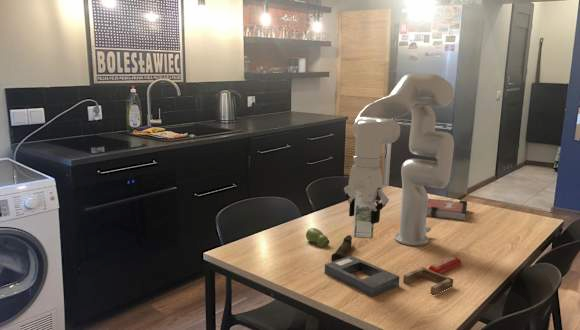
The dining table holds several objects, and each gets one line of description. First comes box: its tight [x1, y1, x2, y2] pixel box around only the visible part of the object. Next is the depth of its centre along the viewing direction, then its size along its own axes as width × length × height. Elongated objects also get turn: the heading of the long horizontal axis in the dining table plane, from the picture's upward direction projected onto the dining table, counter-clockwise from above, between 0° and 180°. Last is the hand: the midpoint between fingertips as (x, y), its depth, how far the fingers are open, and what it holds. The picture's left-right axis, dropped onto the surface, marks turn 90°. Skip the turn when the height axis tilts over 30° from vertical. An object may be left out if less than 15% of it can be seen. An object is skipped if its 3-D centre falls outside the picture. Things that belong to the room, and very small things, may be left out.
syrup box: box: [352, 190, 375, 239], centre depth 142 cm, size 6×6×14 cm
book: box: [426, 198, 468, 222], centre depth 217 cm, size 26×18×5 cm
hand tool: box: [330, 234, 353, 262], centre depth 166 cm, size 19×4×5 cm, turn 157°
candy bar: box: [427, 255, 462, 275], centre depth 156 cm, size 16×4×3 cm, turn 129°
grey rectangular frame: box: [324, 255, 400, 298], centre depth 147 cm, size 12×20×3 cm, turn 40°
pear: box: [305, 227, 330, 248], centre depth 176 cm, size 6×5×10 cm
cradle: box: [402, 266, 454, 296], centre depth 144 cm, size 10×11×2 cm
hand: (363, 218), depth 143 cm, fingers closed on syrup box, 8 cm apart
